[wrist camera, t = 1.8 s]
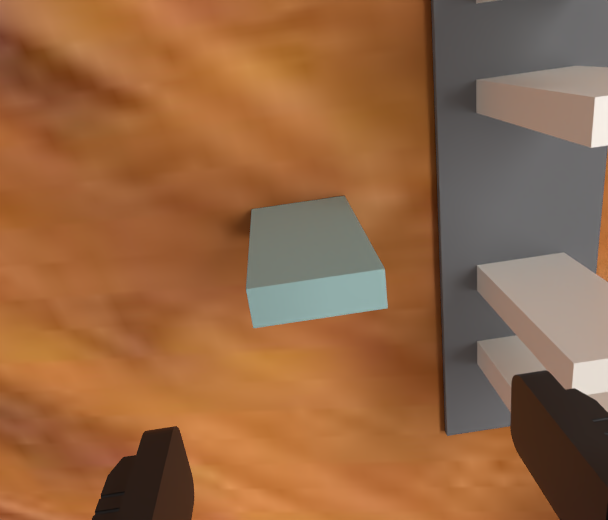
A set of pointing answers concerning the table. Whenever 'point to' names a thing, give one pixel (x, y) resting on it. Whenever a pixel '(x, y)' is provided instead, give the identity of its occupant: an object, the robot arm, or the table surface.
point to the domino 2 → (482, 0)
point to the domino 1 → (311, 263)
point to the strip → (505, 174)
